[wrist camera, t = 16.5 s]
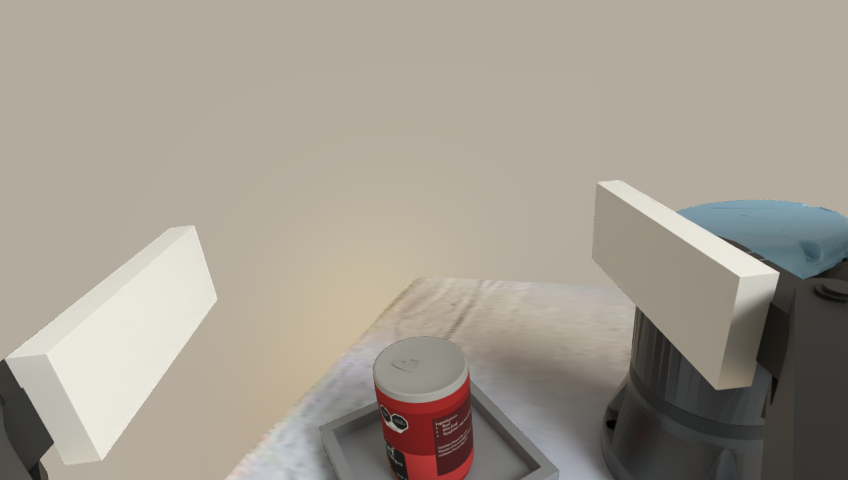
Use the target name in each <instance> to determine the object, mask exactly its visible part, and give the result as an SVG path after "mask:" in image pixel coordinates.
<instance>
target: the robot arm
mask: <svg viewBox="0 0 848 480" xmlns="http://www.w3.org/2000/svg"><path fill="white" fill-rule="evenodd" d="M592 259H593V260H594V261H595V262H596V263H597V264H598V265H599V266H600V267H601V268H602V269H603V271H604V272H605V273H606V274H607V275H608V276H609V277H610V278H611V279H612V280H613V281H614V282H615V283H616V284H617V285H618V286H619V288H620V289H621V290H622V291H623V292H624V293H625V294H626V295H627V296H628V297H629V298H630V299H631V300H632V301H633V302H634V303H635V304H636V311H635V321H634V330H633V340H632V350H631V361H630V368H629V372H628V373H627V375H626V376H625V378H624V380H623V381H622V383H621V385H620V386H619V388H618V389H617V391H616V393H615V394H614V396H613V398H612V399H611V401H610V402H609V404H608V406H607V408H606V411H605V414H604V418H603V425H602V436H601V444H602V451H603V455H604V458H605V461H606V463H607V465H608V468H609V469H610V471H611V473H612V475H613V476H614V478H615V479H616V480H848V218H846V217H845V216H843V215H841V214H840V213H837V212H835V211H832V210H829V209H826V208H823V207H809V206H808V205H806V204H803V203H796V202H788V201H775V200H737V201H725V202H716V203H708V204H703V205H698V206H694V207H689V208H686V209H683V210H680V211H677V212H674V211H672V210H671V209H669V208H667V207H665V206H664V205H662V204H660V203H658V202H657V201H655V200H653V199H651V198H650V197H648V196H646V195H644V194H643V193H641V192H639V191H638V190H636V189H634V188H632V187H631V186H629V185H627V184H626V183H624V182H622V181H620V180H615V181H606V182H597V184H596V200H595V216H594V232H593V248H592ZM216 301H217V296H216V293H215V289H214V286H213V283H212V280H211V277H210V274H209V270H208V267H207V264H206V261H205V258H204V255H203V252H202V249H201V245H200V242H199V239H198V236H197V233H196V230H195V227H194V225H192V226H183V227H173V228H170V229H168V230H167V231H166V232H164V233H163V234H162V235H161V236H159V237H158V238H157V239H156V240H154V241H153V242H152V243H151V244H149V245H148V246H147V247H145V248H144V249H143V250H142V251H140V252H139V253H138V254H137V255H135V256H134V257H133V258H131V259H130V260H129V261H128V262H127V263H125V264H124V265H123V266H121V267H120V268H119V269H118V270H116V271H115V272H114V273H112V274H111V275H110V276H109V277H107V278H106V279H105V280H104V281H102V282H101V283H100V284H98V285H97V286H96V287H95V288H94V289H92V290H91V291H90V292H88V293H87V294H86V295H85V296H83V297H82V298H81V299H80V300H78V301H77V302H76V303H75V304H73V305H72V306H71V307H69V308H68V309H67V310H66V311H65V312H63V313H62V314H60V315H59V316H58V317H56V318H55V319H54V320H53V321H51V322H50V323H49V324H47V325H46V326H45V327H44V328H42V329H41V330H40V331H39V332H38V333H36V334H35V335H33V336H32V337H31V338H30V339H28V340H27V341H26V342H25V343H24V344H22V345H21V346H20V347H18V348H17V349H16V350H15V351H13V352H12V353H11V354H9V355H8V356H7V357H6V358H4V359H3V360H2V361H1V362H0V480H48V474H47V472H46V470H45V468H44V467H43V465H42V463H41V462H40V458H41V457H42V456H43V455H44V454H45V453H46V452H47V450H48V449H49V448H50V447H51V446H52V445H54V446H55V448H56V450H57V452H58V454H59V455H60V457H61V459H62V460H63V462H64V464H65V465H72V464H80V463H88V462H96V461H97V462H98V461H102V460H103V459H104V457H105V456H106V455H107V453H108V452H109V450H110V449H111V448H112V446H113V445H114V443H115V442H116V440H117V439H118V438H119V436H120V435H121V434H122V432H123V431H124V429H125V428H126V427H127V425H128V424H129V422H130V421H131V420H132V418H133V417H134V415H135V414H136V413H137V411H138V410H139V408H140V407H141V406H142V404H143V403H144V401H145V400H146V399H147V397H148V396H149V394H150V393H151V392H152V390H153V389H154V387H155V386H156V384H157V383H158V382H159V380H160V379H161V377H162V376H163V375H164V373H165V372H166V371H167V369H168V368H169V366H170V365H171V364H172V362H173V361H174V359H175V358H176V357H177V355H178V354H179V352H180V351H181V350H182V348H183V347H184V345H185V344H186V342H187V341H188V339H189V338H190V337H191V336H192V334H193V333H194V331H195V330H196V329H197V327H198V326H199V324H200V323H201V321H202V320H203V319H204V317H205V316H206V315H207V313H208V312H209V310H210V309H211V307H212V306H213V305H214V303H215V302H216Z"/></svg>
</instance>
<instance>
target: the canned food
mask: <svg viewBox="0 0 848 480" xmlns="http://www.w3.org/2000/svg"><path fill="white" fill-rule="evenodd" d="M373 378H374V384H375V391H376V396H377V402H378V407H379V413H380V418H381V424H382V430H383V435H384V441H385V446H386V452H387V458H388V463H389V466H390V468H391V471H392V472H393V474H394V475H395V477H396V478H397V479H398V480H463V479H464V478H465V477H466V476H467V474H468V473H469V470H470V468H471V465H472V462H473V459H474V442H473V425H472V408H471V391H470V377H469V367H468V362H467V357H466V355H465V353H464V352H463V351H462V349H461V348H460V347H458V346H457V345H456V344H454V343H452V342H450V341H448V340H445V339H441V338H436V337H414V338H408V339H405V340H401V341H398V342H396V343H394V344H392V345H390V346H389V347H387V348H386V349H384V350H383V351H382V352H381V353H380V354H379V356H378V357H377V358H376V360H375V363H374V366H373Z"/></svg>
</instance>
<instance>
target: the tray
mask: <svg viewBox="0 0 848 480" xmlns="http://www.w3.org/2000/svg"><path fill="white" fill-rule="evenodd" d="M470 391H471V408H472V425H473V442H474V459H473V462H472V465H471V468H470V470H469V473H468V474H467V476H466V477H465V478H464V479H463V480H559V470H558V469H557V468H556V467H555V466H554V465H553V464H552V463H551V462H550V461H549V460H548V458H547V457H546V456H545V455H544V454H543V453H542V452H541V451H540V450H539V449H538V448H537V447H536V446H535V445H534V444H533V443H532V442H531V441H530V440H529V439H528V438H527V437H526V436H525V435H524V434H523V433H522V432H521V431H520V430H519V429H518V428H517V427H516V426H515V425H514V424H513V423H512V422H511V421H510V420H509V419H508V418H507V417H506V416H505V415H504V414H503V413H502V412H501V411H500V410H499V409H498V408H497V407H496V406H495V405H494V404H493V403H492V402H491V401H490V400H489V399H488V398H487V397H486V396H485V395H484V394H483V393H482V391H481V390H480V389H479V388H478V387H477V386H476V385H475V384H474V383H473V382H472V381H471V380H470ZM319 428H320V432H321V437H322V441H323V445H324V448H325V450H326V452H327V455H328V457H329V460H330V462H331V464H332V467H333V469H334V472H335V474H336V476H337V479H338V480H398V479H397V478H396V477H395V475H394V474H393V472H392V471H391V468H390V466H389V463H388V458H387V452H386V446H385V441H384V435H383V430H382V424H381V418H380V413H379V407H378V402H375V403H373V404H371V405H369V406H366V407H364V408H362V409H360V410H357V411H355V412H353V413H351V414H348V415H346V416H344V417H342V418H339V419H337V420H335V421H333V422H330V423H328V424H326V425H324V426H321V427H319Z"/></svg>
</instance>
